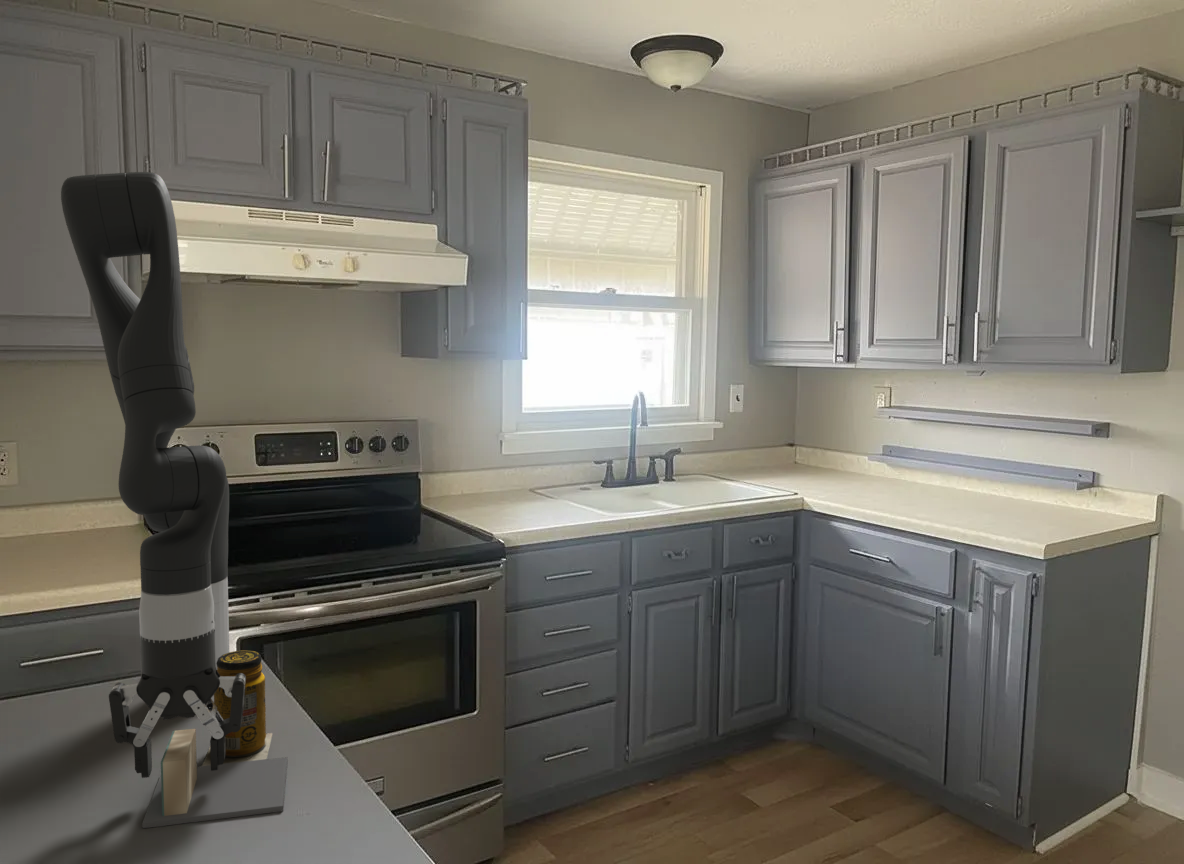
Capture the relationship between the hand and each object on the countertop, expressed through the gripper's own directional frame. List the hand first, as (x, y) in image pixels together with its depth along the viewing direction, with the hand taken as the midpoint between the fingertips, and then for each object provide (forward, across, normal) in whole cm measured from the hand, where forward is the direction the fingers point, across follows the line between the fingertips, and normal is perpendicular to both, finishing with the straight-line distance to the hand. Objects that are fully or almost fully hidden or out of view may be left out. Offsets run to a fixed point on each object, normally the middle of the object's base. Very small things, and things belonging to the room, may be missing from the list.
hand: (181, 770), depth 100 cm
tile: (-1, 0, -5) cm, 5 cm away
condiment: (+3, +5, +10) cm, 12 cm away
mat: (+3, +4, 0) cm, 5 cm away
